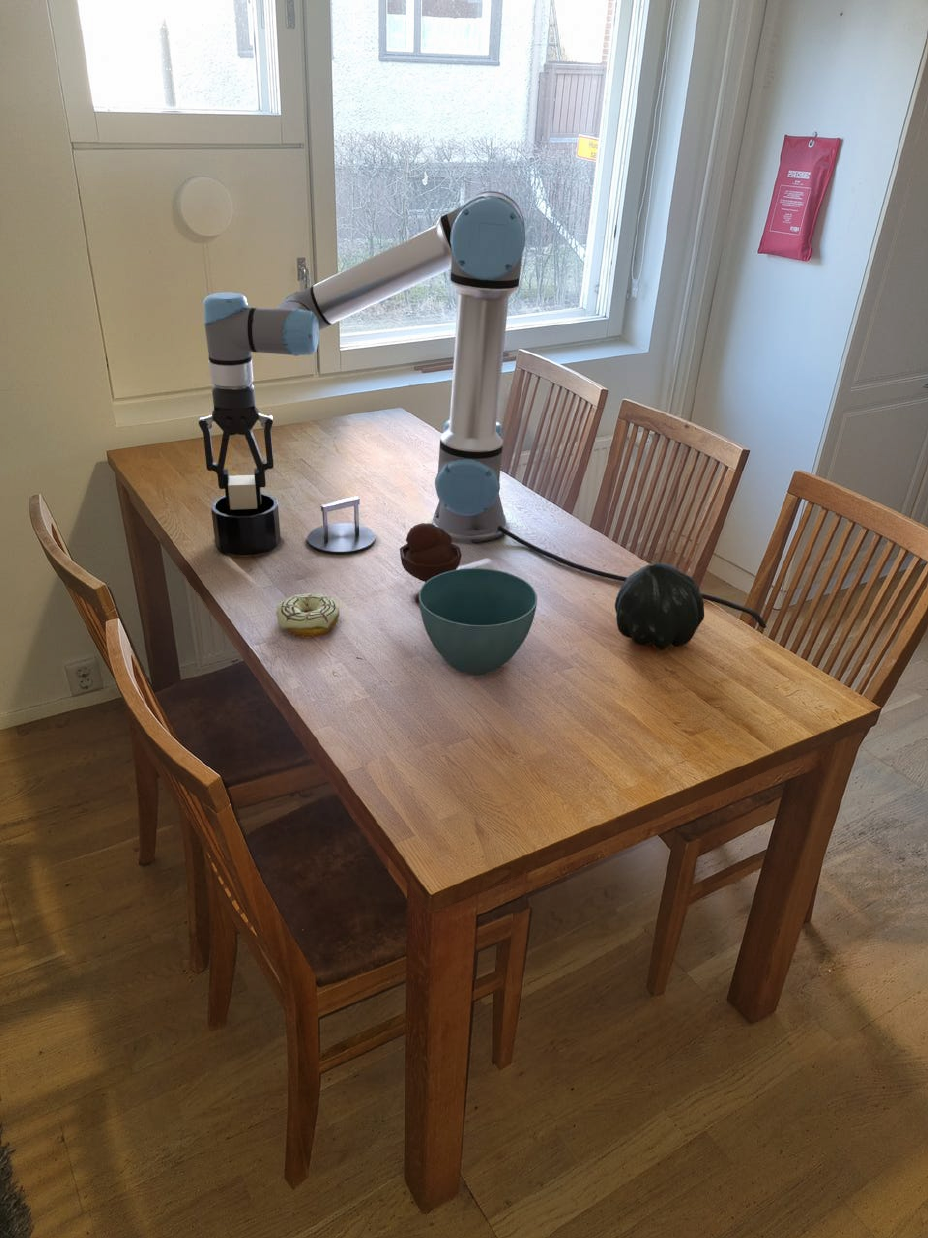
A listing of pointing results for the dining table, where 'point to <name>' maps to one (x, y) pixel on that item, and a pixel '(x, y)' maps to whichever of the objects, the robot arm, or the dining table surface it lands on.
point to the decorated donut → (308, 614)
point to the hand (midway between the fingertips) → (244, 502)
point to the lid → (341, 532)
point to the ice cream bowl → (429, 553)
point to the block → (242, 492)
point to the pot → (246, 527)
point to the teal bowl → (477, 617)
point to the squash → (659, 606)
